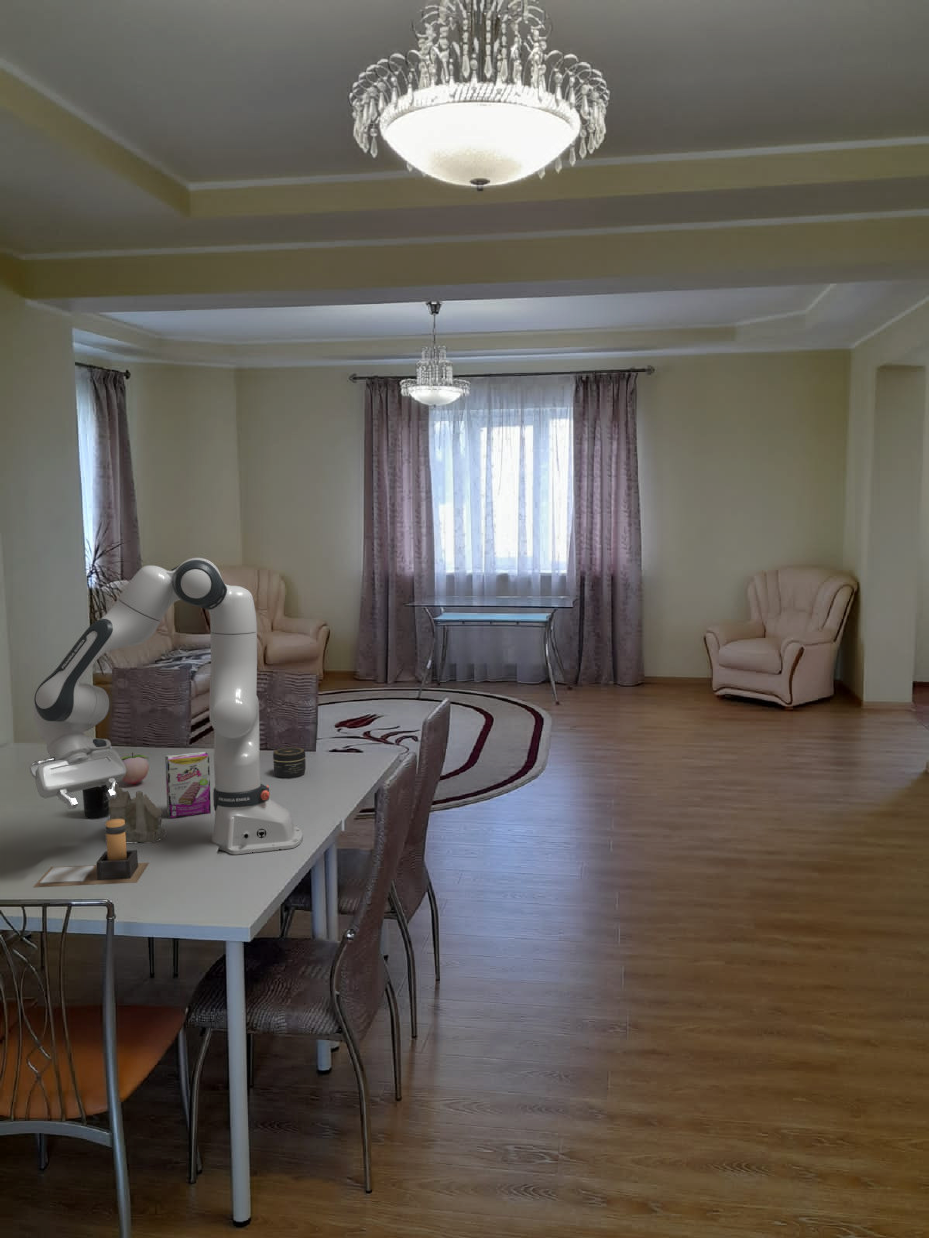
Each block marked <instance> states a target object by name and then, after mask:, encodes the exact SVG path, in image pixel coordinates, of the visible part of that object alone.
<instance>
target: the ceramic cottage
mask: <svg viewBox="0 0 929 1238" xmlns="http://www.w3.org/2000/svg"><path fill="white" fill-rule="evenodd" d="M114 790H115V792H116V795H117V796H116V798H115V799H111V800H109V812H108V813H109V818H108V819H107V821H108V820H112V819H124V820H125V836H126V842H150V843H155V842H158V841H160V840H159V839H161V838H162V839H163V838H165V837H164V836H166V834H167V832H166V829H165V828H164V827H162V826H163V825H162V823H163V818H162V817H161V815H162V814H163V812H162V810H161V809H160V808H158V807H157V806H156V805H155V804H154V802H152V800H151V799H150V798H149V797H148V796H147V794H144V792H143V791H141V790H137V791H136V792H135V796H134V797H132V798H131V794H130V792H129V790H123V788H122V786H119V782H116V783H115V789H114ZM105 838H106V840H107V837H106V835H105ZM105 838H104V839H105ZM162 839H161V840H162ZM106 840H105V841H106ZM157 840H158V841H157ZM154 841H155V842H154Z"/></svg>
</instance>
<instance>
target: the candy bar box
mask: <svg viewBox="0 0 929 1238" xmlns="http://www.w3.org/2000/svg"><path fill="white" fill-rule="evenodd" d="M209 755H210V754H208V753H207V752H206V751H200V752H191V753H180V754H172V755H171V754H170V755H165V757H164V758H165V759H164V760H165V783H166V785H165V787H166V811H167V812H166V813H167V816H168V817H169V819H176V818H183V817H190V816H196V815H197V816H198V815H205V814H211V811H212V809H211V808H212V806H211V805H212V804H211V781H210V780H211V779H210V778H211V777H210V776H211V775H210V774H211V773H210V756H209Z"/></svg>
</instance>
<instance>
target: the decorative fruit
mask: <svg viewBox="0 0 929 1238" xmlns="http://www.w3.org/2000/svg"><path fill="white" fill-rule="evenodd" d="M120 758H121V759H122V761H123V763H124V765H125V767H126V774H125V776H124V778H123V779H122V780H121V781H123V782H124V783H125V784H126V783H127V784H129V785H133V786H134V785H136V784H138V783H140V782H141V781H144V779H145V778H146V777H147V775H148V773H149V768H150V767H149V763H148V760H147V759H149V757H147V755H145V754H136V755H134V752H131V756H129V755H128V756H127V755H126V756H122V757H120ZM149 760H150V759H149Z"/></svg>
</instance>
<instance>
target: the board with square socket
mask: <svg viewBox="0 0 929 1238" xmlns="http://www.w3.org/2000/svg"><path fill="white" fill-rule="evenodd" d="M126 853H127V860H116V861H108V854H107V850H106V851H104V852H103V854H102V855H101V856H100V857H99V858H98V860H97V861H96V863H95V864H93V865H91V864H90V865H87V864H86V865H69V866H68V865H67V866H50V867H49V869H47V871H46V872H45V873H44V874H43V875H42V877H40V879H38V881H37V882H36V883H35V884H34V885H33V888H49V887H73V886H89V885H91V886H93V885H94V886H95V885H113V884H114V885H115V884H135V883H138V881H139V880H140V878H141V877H142V875H143V874H144V873H145V871H146V869H147V867H148V866H149V864H150V862H139V856H138V849H131V850H130V849H129V850H128V849H126Z"/></svg>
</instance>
